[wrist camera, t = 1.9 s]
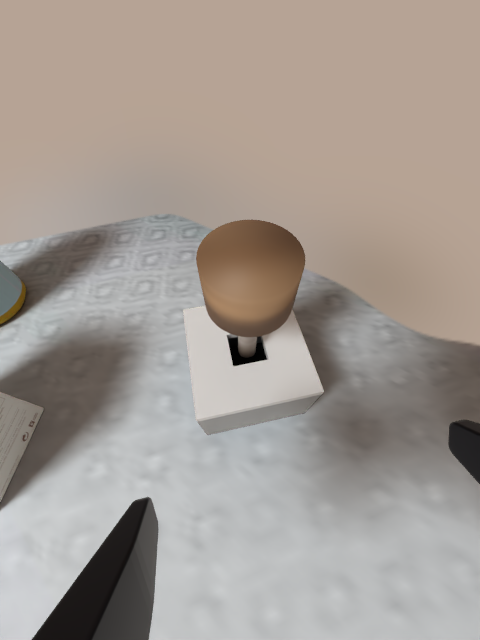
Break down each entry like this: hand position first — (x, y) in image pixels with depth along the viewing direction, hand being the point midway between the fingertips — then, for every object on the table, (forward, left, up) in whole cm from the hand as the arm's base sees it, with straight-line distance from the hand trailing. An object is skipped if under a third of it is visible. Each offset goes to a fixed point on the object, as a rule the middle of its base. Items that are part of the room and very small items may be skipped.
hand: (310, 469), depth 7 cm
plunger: (+6, +5, -8) cm, 11 cm away
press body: (+6, +5, -13) cm, 16 cm away
